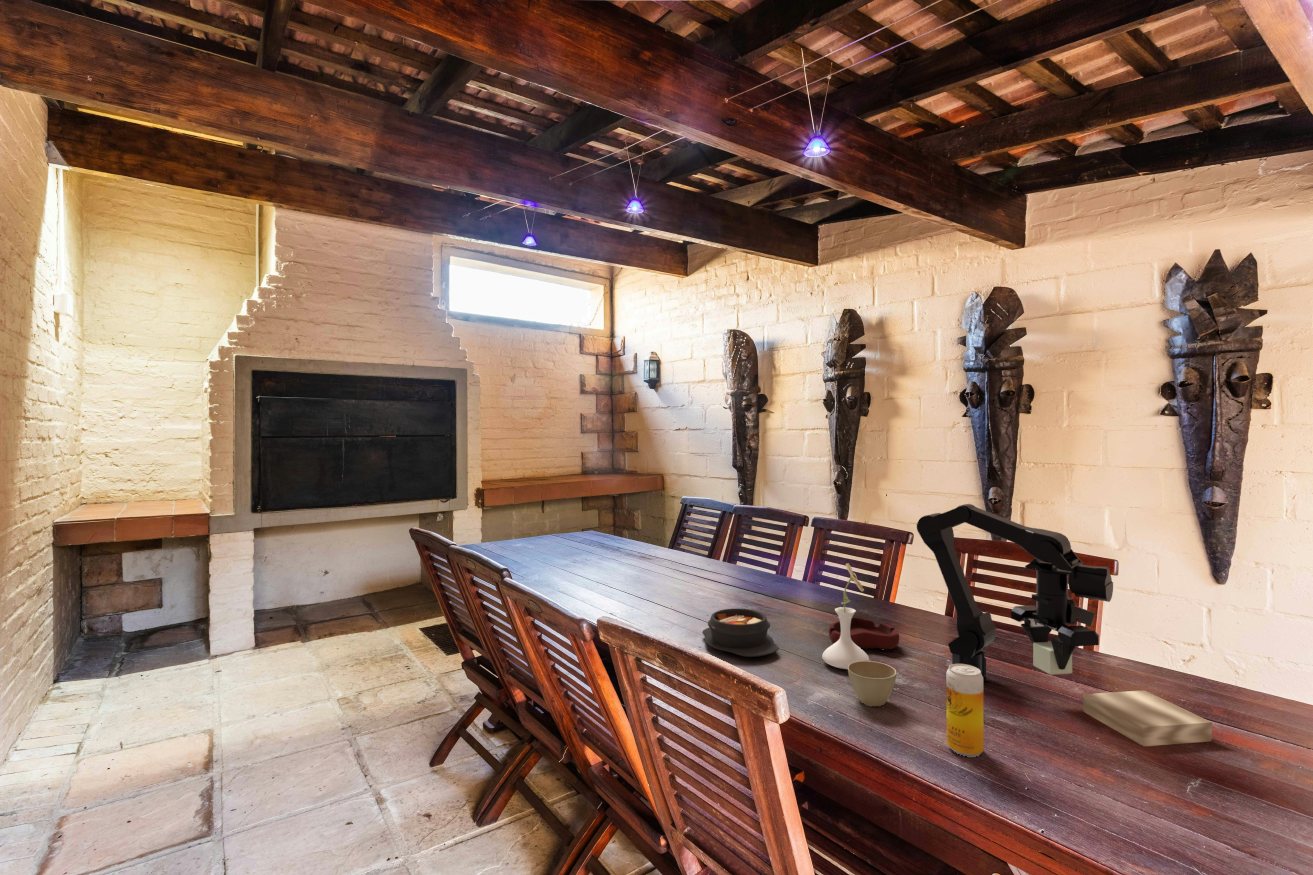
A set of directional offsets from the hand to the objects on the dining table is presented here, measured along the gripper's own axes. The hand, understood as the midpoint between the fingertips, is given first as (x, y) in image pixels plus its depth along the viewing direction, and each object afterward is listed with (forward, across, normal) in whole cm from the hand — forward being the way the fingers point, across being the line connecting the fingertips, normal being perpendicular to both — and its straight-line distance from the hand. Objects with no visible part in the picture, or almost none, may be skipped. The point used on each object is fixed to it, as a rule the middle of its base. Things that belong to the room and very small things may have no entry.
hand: (1052, 664), depth 131 cm
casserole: (+8, +42, +59) cm, 73 cm away
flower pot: (+8, +5, +38) cm, 39 cm away
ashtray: (+8, +40, +25) cm, 48 cm away
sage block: (+1, 0, 0) cm, 1 cm away
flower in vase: (+8, +26, +35) cm, 44 cm away
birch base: (+8, -12, -10) cm, 18 cm away
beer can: (+8, -16, +30) cm, 35 cm away
